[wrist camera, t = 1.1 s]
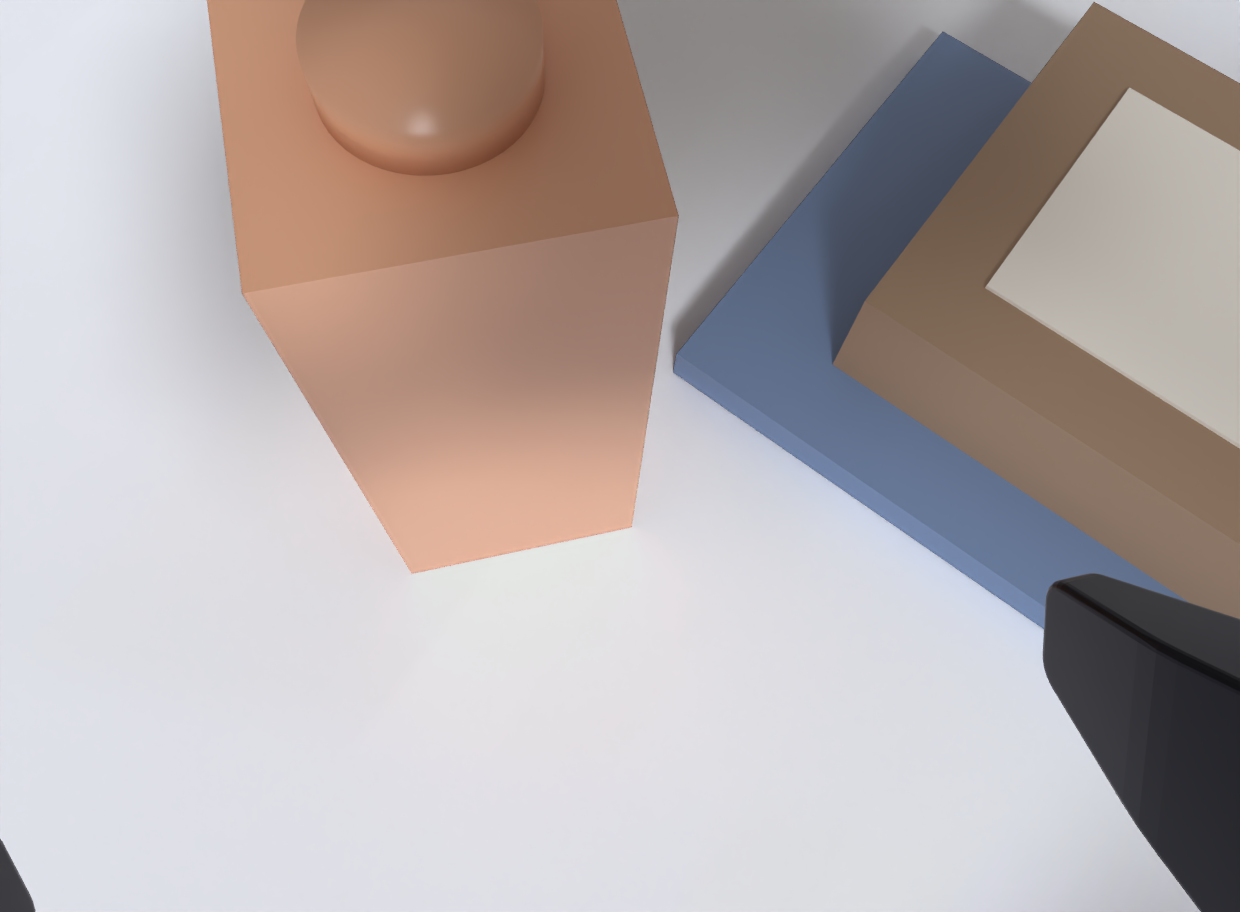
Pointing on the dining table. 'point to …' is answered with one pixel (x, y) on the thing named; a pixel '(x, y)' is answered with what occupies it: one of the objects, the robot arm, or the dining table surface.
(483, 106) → the column
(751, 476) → the dining table surface
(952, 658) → the dining table surface
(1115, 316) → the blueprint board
